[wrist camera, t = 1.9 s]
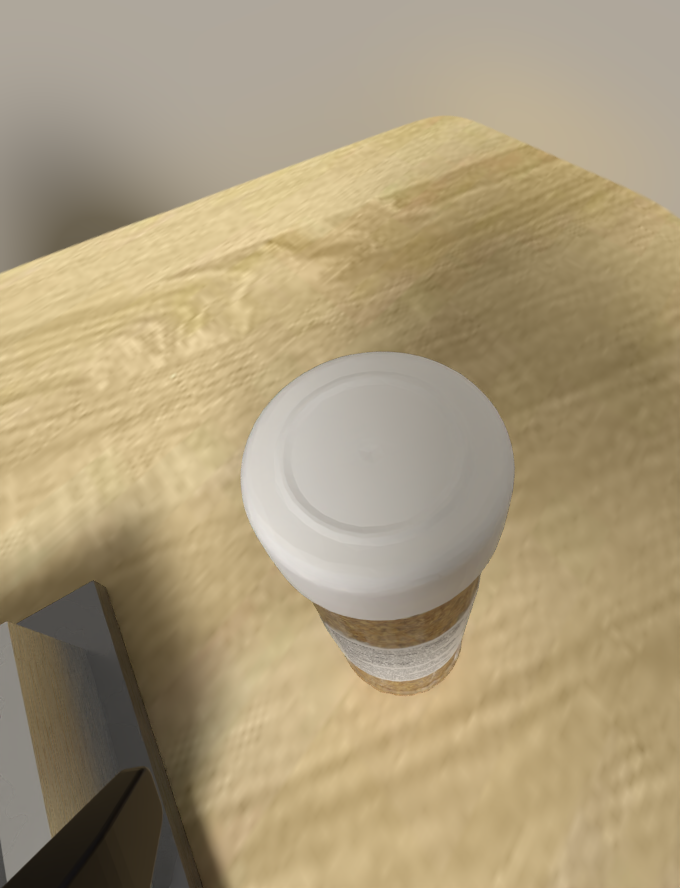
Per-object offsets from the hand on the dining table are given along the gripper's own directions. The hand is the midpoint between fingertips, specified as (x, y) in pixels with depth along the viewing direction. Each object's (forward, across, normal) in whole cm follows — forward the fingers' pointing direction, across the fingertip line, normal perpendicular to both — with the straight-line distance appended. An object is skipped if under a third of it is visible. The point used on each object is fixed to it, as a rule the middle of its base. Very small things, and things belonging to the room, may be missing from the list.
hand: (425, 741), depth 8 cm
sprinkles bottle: (+11, 0, +5) cm, 12 cm away
